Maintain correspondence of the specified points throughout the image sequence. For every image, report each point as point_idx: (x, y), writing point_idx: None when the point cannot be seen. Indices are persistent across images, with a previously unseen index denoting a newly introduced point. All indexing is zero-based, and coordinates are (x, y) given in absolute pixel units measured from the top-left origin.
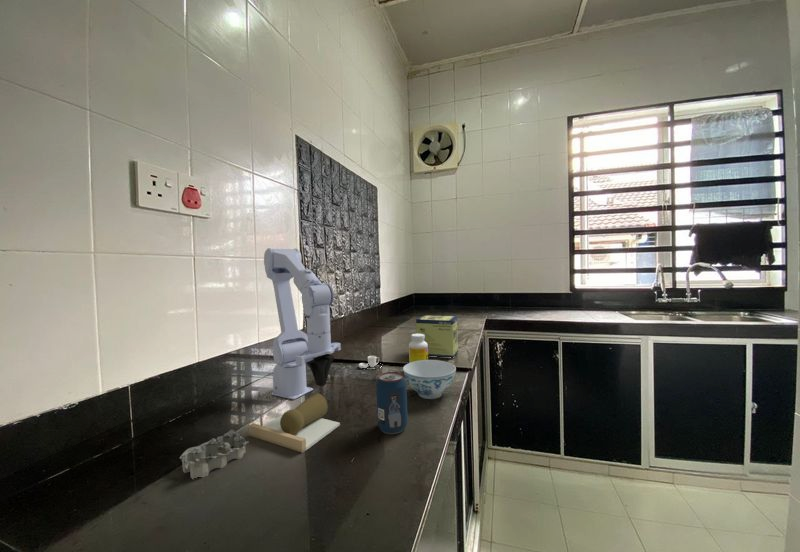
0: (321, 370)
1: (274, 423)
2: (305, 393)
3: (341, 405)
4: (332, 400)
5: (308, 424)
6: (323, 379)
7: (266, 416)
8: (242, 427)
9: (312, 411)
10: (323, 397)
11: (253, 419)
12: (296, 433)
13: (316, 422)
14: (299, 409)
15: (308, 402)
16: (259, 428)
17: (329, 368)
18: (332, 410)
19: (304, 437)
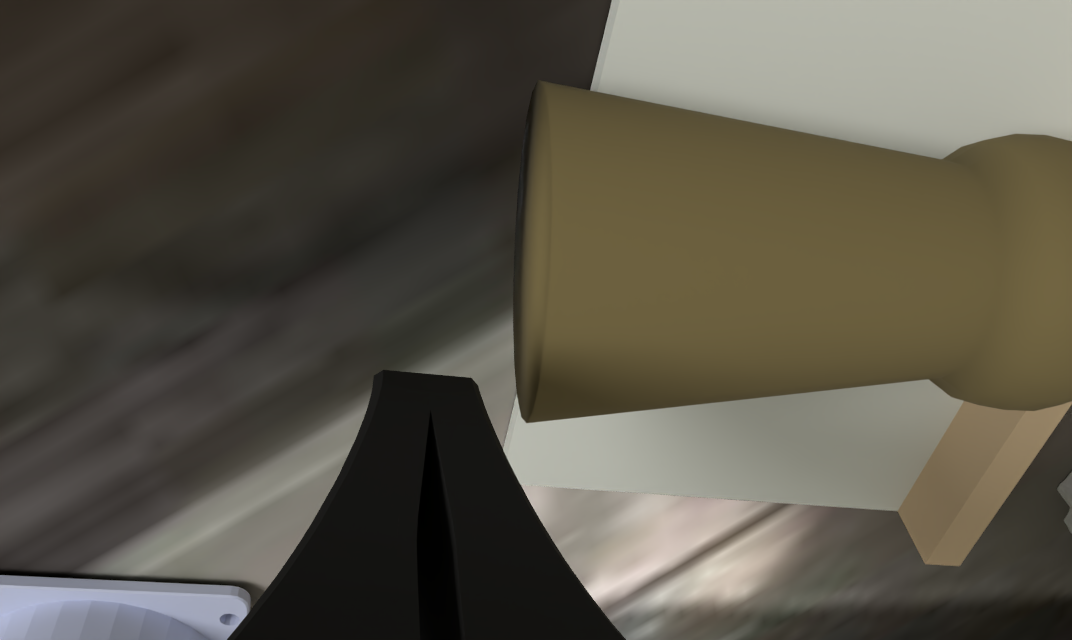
0: (609, 622)
1: (768, 453)
2: (72, 579)
3: (111, 52)
4: (41, 245)
5: None
6: (480, 449)
7: (606, 578)
8: (797, 603)
9: (839, 179)
10: (560, 225)
11: (670, 619)
12: None
13: (710, 96)
14: (970, 313)
15: (797, 316)
16: (1021, 472)
17: (292, 572)
18: (298, 96)
19: (1046, 37)
